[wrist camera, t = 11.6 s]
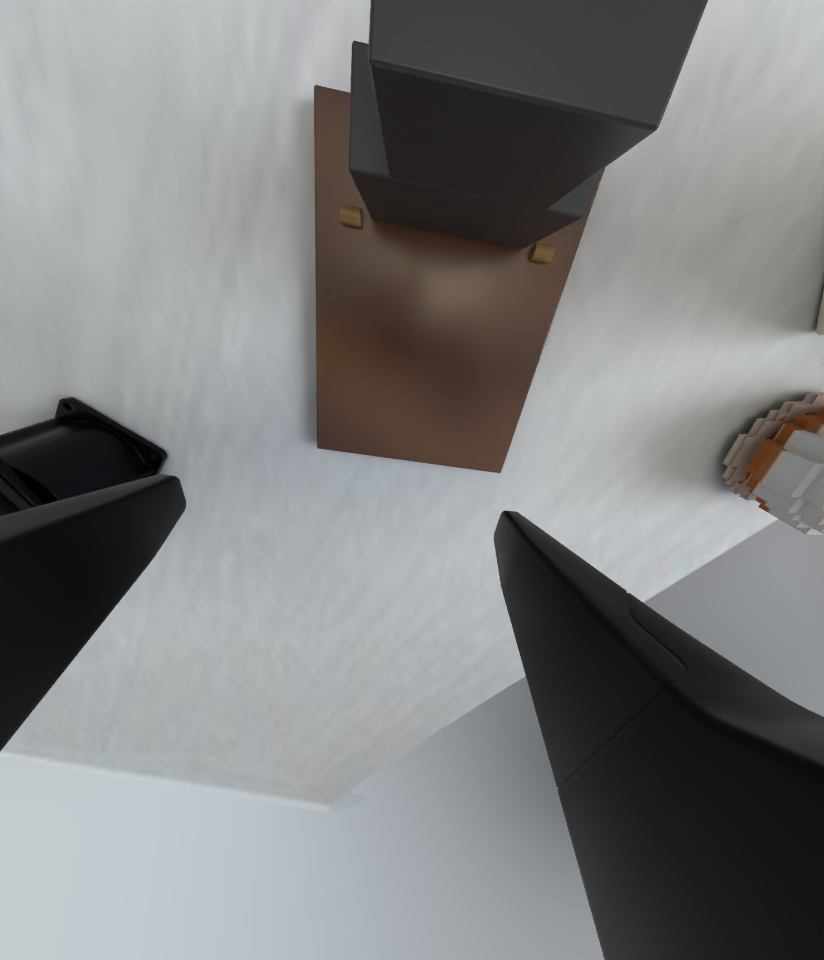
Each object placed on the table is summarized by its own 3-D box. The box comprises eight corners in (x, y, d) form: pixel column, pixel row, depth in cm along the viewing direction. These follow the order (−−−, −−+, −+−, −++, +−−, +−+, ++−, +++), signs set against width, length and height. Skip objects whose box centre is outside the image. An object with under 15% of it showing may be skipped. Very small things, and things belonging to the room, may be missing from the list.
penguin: (371, 220, 14) (377, 125, 13) (523, 249, 15) (547, 162, 13) (287, 45, 5) (268, -428, 3) (726, 145, 5) (896, -212, 4)
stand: (319, 97, 13) (308, 72, 12) (599, 159, 14) (620, 142, 13) (320, 442, 21) (314, 452, 20) (497, 467, 22) (503, 478, 21)
